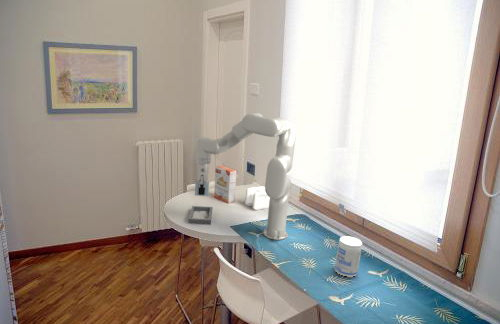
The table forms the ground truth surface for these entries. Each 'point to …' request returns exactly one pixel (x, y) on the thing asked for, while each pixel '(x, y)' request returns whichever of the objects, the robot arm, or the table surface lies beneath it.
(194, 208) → the grey rectangular frame
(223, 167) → the cracker box
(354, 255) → the supplement tub
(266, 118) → the robot arm
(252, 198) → the cable organizer
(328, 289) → the table surface
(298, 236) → the table surface
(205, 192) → the module
